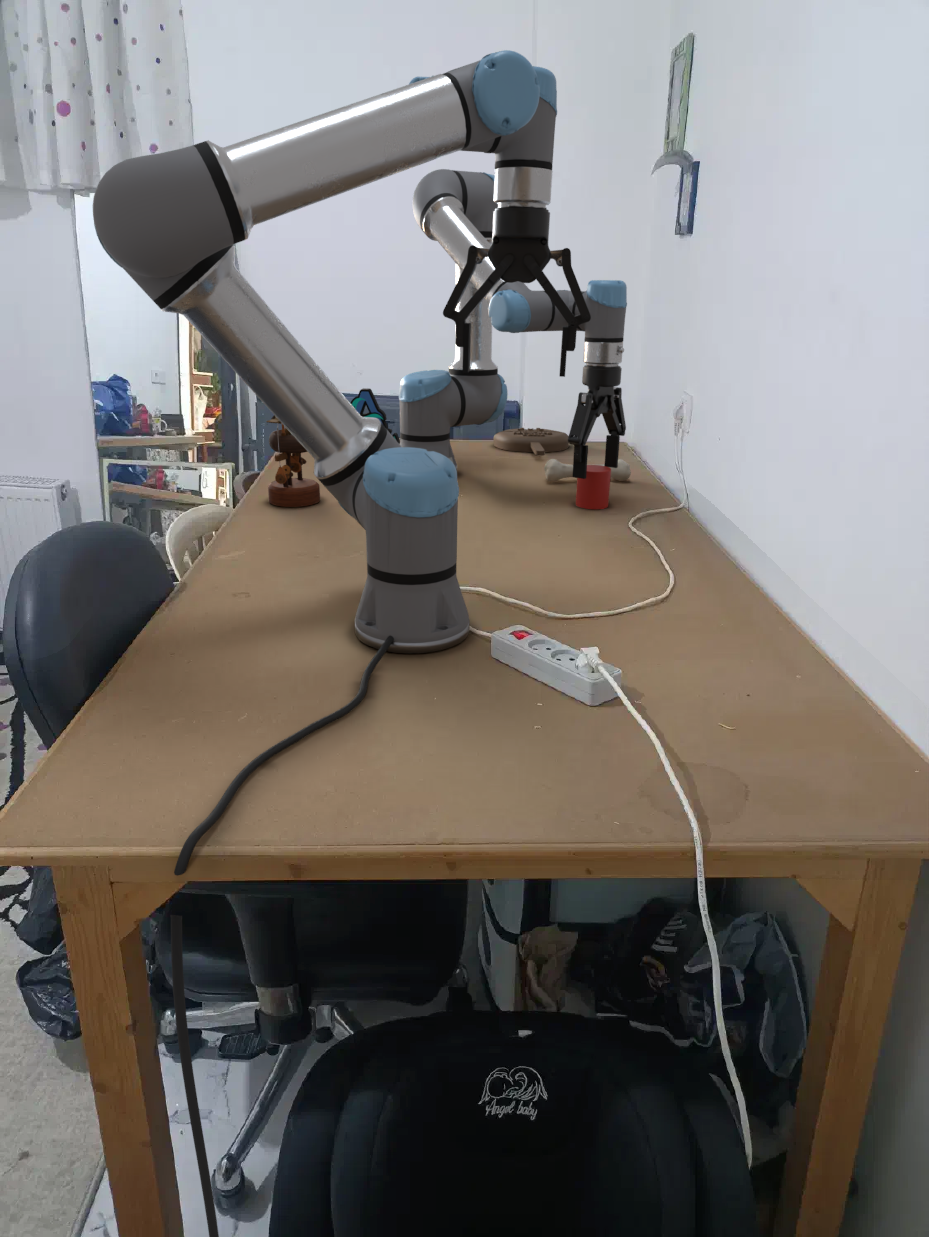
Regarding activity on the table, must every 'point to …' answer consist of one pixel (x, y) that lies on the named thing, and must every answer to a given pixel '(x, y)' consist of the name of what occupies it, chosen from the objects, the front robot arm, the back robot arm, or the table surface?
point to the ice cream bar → (531, 440)
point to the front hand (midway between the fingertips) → (513, 374)
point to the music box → (286, 487)
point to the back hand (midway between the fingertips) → (595, 472)
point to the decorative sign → (371, 408)
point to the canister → (594, 488)
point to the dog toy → (560, 470)
